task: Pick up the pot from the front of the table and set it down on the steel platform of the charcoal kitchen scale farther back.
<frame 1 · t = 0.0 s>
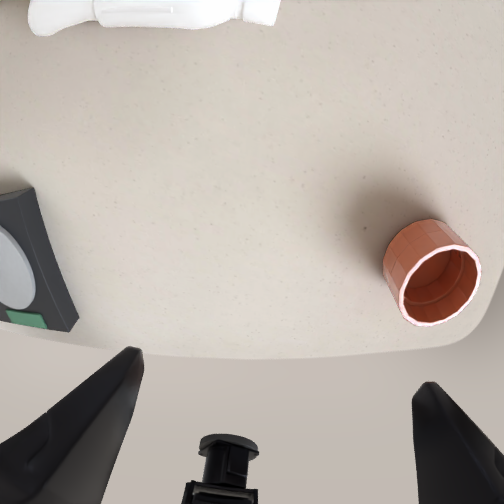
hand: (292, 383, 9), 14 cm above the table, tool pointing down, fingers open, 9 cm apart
scale: (17, 259, 25), on the table
pot: (419, 256, 22), on the table
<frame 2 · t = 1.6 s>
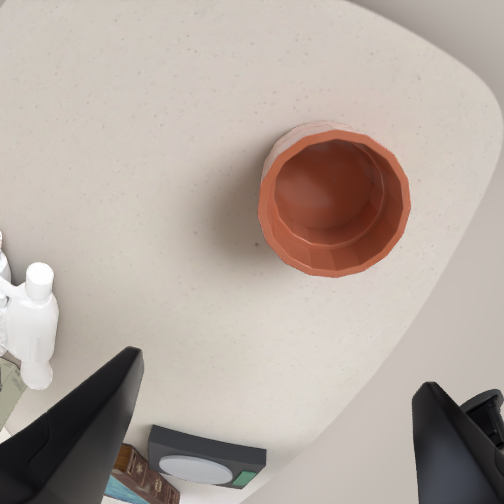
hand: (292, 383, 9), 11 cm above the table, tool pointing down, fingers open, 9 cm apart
scale: (203, 455, 35), on the table
pot: (323, 180, 17), on the table
box: (11, 367, 31), on the table
binoculars: (24, 301, 24), on the table
book: (118, 463, 43), on the table
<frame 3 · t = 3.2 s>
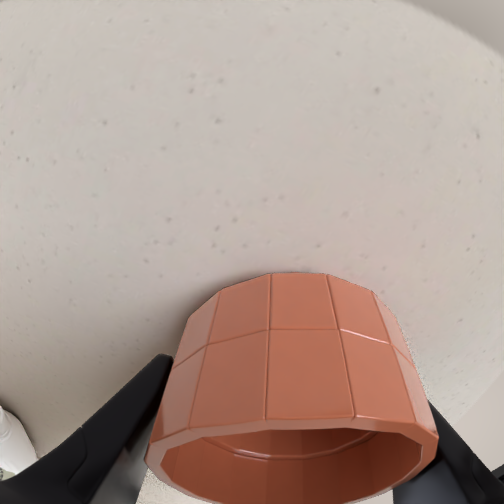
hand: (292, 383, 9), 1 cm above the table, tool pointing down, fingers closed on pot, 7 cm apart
pot: (290, 353, 10), on the table, touching gripper
box: (11, 449, 25), on the table
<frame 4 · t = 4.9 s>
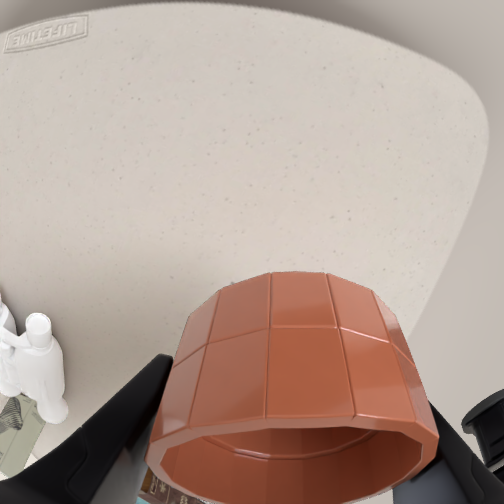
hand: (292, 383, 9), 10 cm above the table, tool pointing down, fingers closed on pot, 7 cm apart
pot: (290, 352, 10), point 9 cm above the table, touching gripper
box: (31, 402, 32), on the table
binoculars: (32, 345, 25), on the table
book: (144, 483, 43), on the table
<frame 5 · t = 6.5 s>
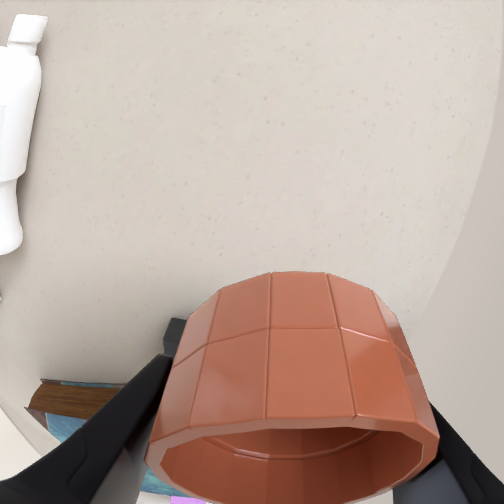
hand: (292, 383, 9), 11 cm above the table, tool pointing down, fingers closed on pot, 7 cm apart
scale: (254, 381, 25), on the table
pot: (290, 352, 10), point 10 cm above the table, touching gripper
toy chair: (188, 492, 46), on the table
binoculars: (1, 121, 16), on the table
book: (134, 434, 34), on the table
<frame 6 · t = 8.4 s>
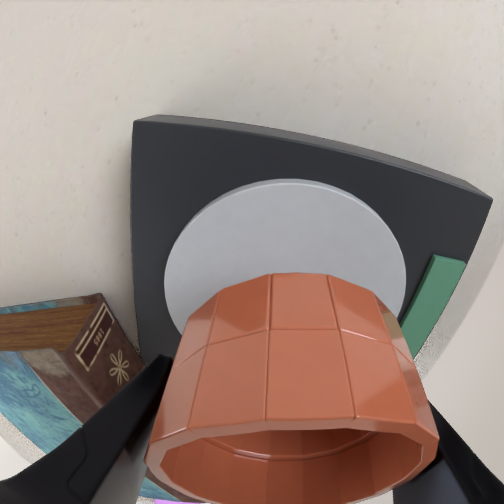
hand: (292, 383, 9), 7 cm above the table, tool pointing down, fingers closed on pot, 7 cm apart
scale: (297, 267, 15), on the table
pot: (290, 353, 10), point 6 cm above the table, touching gripper
toy chair: (177, 493, 35), on the table
book: (96, 403, 23), on the table
when the fingers open (4 cm above the table, at t = 9.7 s): pot stays where it is, resting on scale.
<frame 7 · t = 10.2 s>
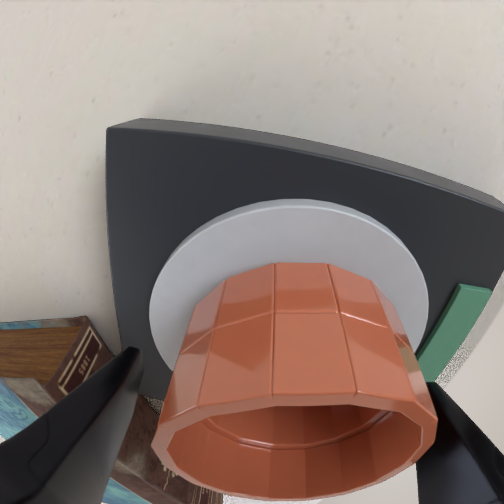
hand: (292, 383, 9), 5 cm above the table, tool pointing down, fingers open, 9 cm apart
scale: (303, 293, 13), on the table
pot: (293, 342, 10), point 3 cm above the table, touching scale
book: (89, 420, 21), on the table
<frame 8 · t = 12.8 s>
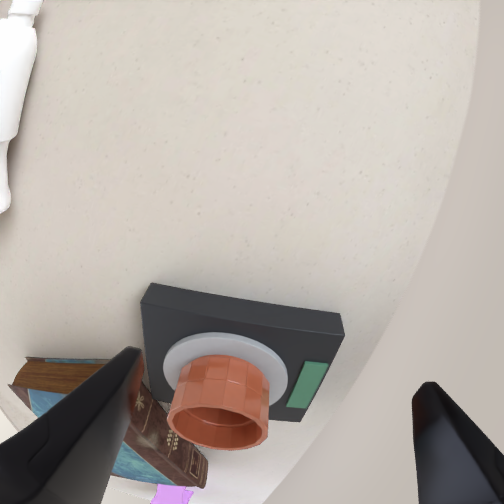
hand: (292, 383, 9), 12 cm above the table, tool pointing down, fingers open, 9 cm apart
scale: (235, 354, 25), on the table
pot: (224, 380, 22), point 3 cm above the table, touching scale
toy chair: (175, 483, 46), on the table
book: (118, 416, 34), on the table
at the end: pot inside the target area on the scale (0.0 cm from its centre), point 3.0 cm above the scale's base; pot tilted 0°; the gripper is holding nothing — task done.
